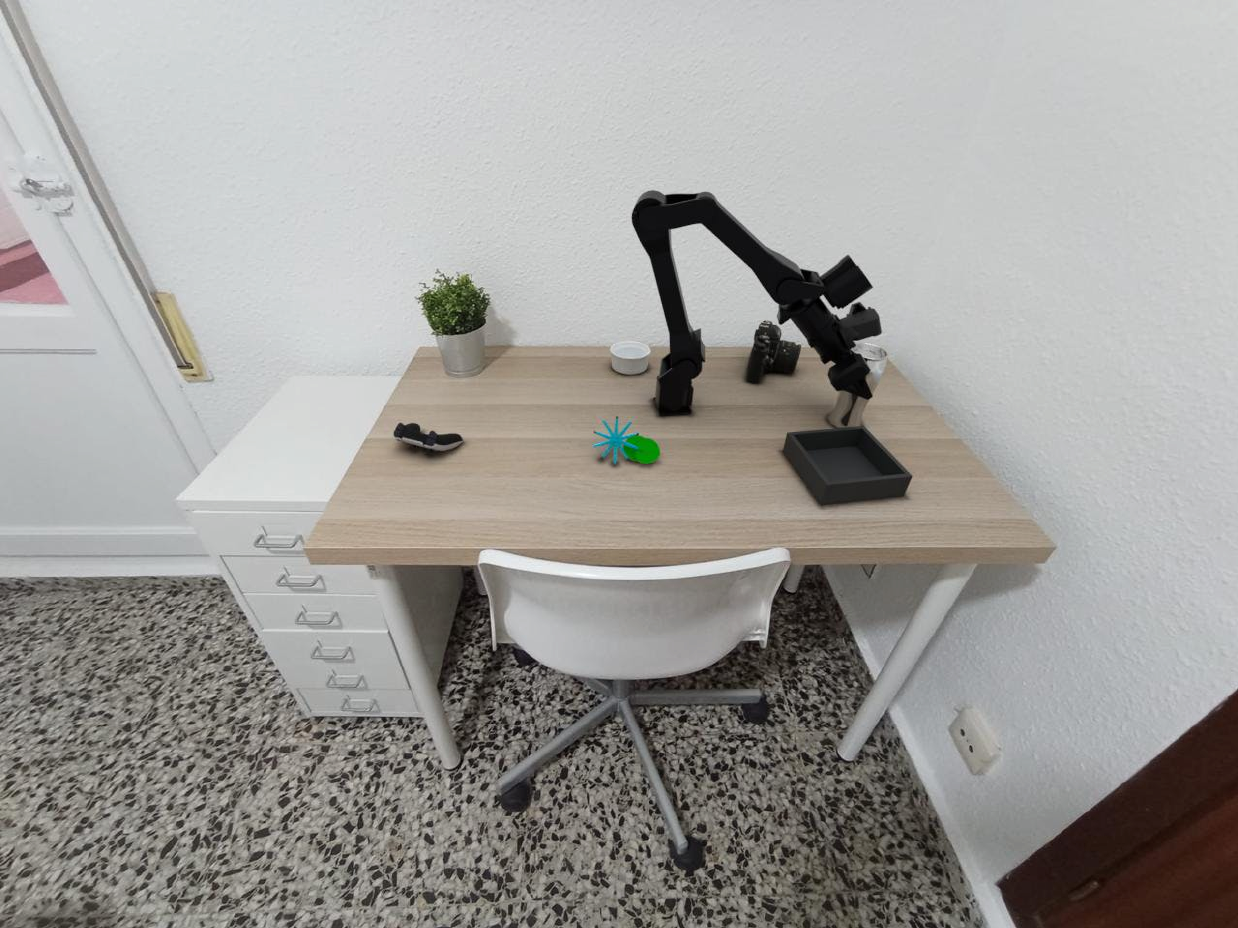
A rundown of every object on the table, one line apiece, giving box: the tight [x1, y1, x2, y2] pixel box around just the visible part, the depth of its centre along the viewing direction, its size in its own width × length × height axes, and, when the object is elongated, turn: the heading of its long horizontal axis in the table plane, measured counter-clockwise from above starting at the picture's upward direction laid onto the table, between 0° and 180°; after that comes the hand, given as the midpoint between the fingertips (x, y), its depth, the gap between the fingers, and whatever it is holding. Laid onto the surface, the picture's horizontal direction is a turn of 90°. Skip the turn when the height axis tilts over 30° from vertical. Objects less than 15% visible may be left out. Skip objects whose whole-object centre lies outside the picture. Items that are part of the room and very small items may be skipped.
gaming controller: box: [392, 422, 464, 454], centre depth 95 cm, size 11×4×7 cm
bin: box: [782, 425, 914, 506], centre depth 92 cm, size 15×15×4 cm
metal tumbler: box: [827, 342, 890, 428], centre depth 102 cm, size 7×7×15 cm
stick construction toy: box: [592, 415, 661, 465], centre depth 96 cm, size 12×7×8 cm
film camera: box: [745, 319, 802, 384], centre depth 120 cm, size 18×12×10 cm
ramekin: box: [609, 340, 651, 376], centre depth 121 cm, size 9×9×4 cm
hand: (864, 385), depth 101 cm, fingers open, 9 cm apart
